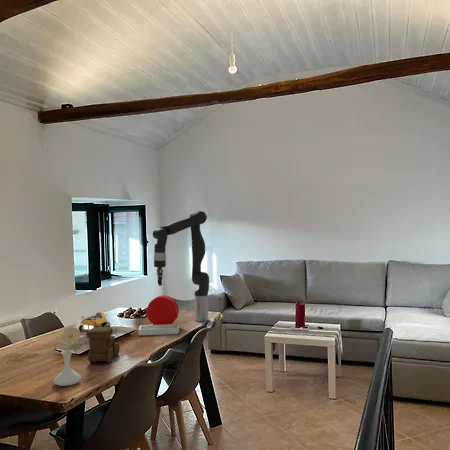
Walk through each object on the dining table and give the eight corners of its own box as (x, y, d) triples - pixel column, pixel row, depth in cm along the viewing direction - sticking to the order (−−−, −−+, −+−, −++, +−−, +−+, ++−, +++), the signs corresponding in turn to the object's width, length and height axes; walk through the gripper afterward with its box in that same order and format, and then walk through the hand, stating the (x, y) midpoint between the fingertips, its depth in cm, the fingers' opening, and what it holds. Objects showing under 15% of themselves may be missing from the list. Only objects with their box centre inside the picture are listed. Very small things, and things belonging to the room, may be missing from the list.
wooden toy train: (108, 366, 212) (107, 332, 212) (85, 366, 213) (84, 332, 213) (121, 353, 232) (120, 322, 232) (100, 353, 233) (99, 322, 233)
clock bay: (139, 331, 277) (139, 325, 277) (178, 329, 280) (178, 323, 280) (138, 335, 267) (138, 329, 267) (179, 333, 270) (179, 328, 270)
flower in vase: (47, 386, 188) (46, 328, 187) (66, 377, 198) (65, 322, 198) (72, 390, 183) (71, 330, 183) (90, 380, 194) (89, 324, 193)
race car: (77, 332, 277) (77, 315, 277) (92, 326, 291) (92, 310, 291) (96, 334, 272) (96, 317, 272) (111, 328, 286) (111, 312, 286)
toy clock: (179, 325, 289) (178, 295, 289) (177, 328, 284) (176, 297, 283) (149, 325, 291) (148, 295, 291) (146, 327, 286) (146, 296, 285)
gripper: (166, 260, 278) (166, 286, 278) (164, 258, 292) (164, 282, 292) (154, 260, 276) (154, 286, 277) (153, 258, 290) (153, 283, 291)
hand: (159, 284), depth 284 cm, fingers open, 8 cm apart
